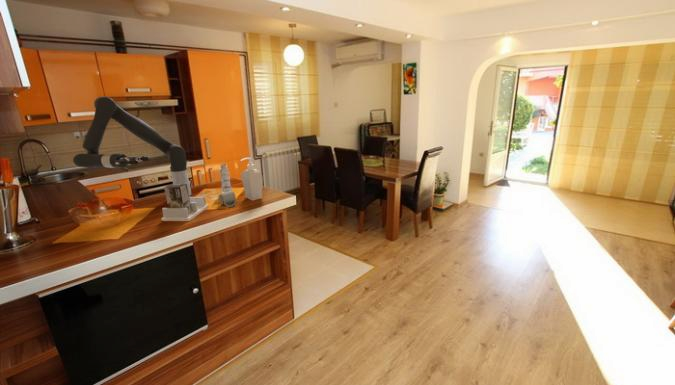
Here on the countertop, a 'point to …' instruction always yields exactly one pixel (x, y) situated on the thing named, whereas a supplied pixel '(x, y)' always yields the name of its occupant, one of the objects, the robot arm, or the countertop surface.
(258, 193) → the soap bottle
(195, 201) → the slot rack
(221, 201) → the ceramic mug
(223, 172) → the plastic bottle
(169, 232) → the countertop surface
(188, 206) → the coffee box
